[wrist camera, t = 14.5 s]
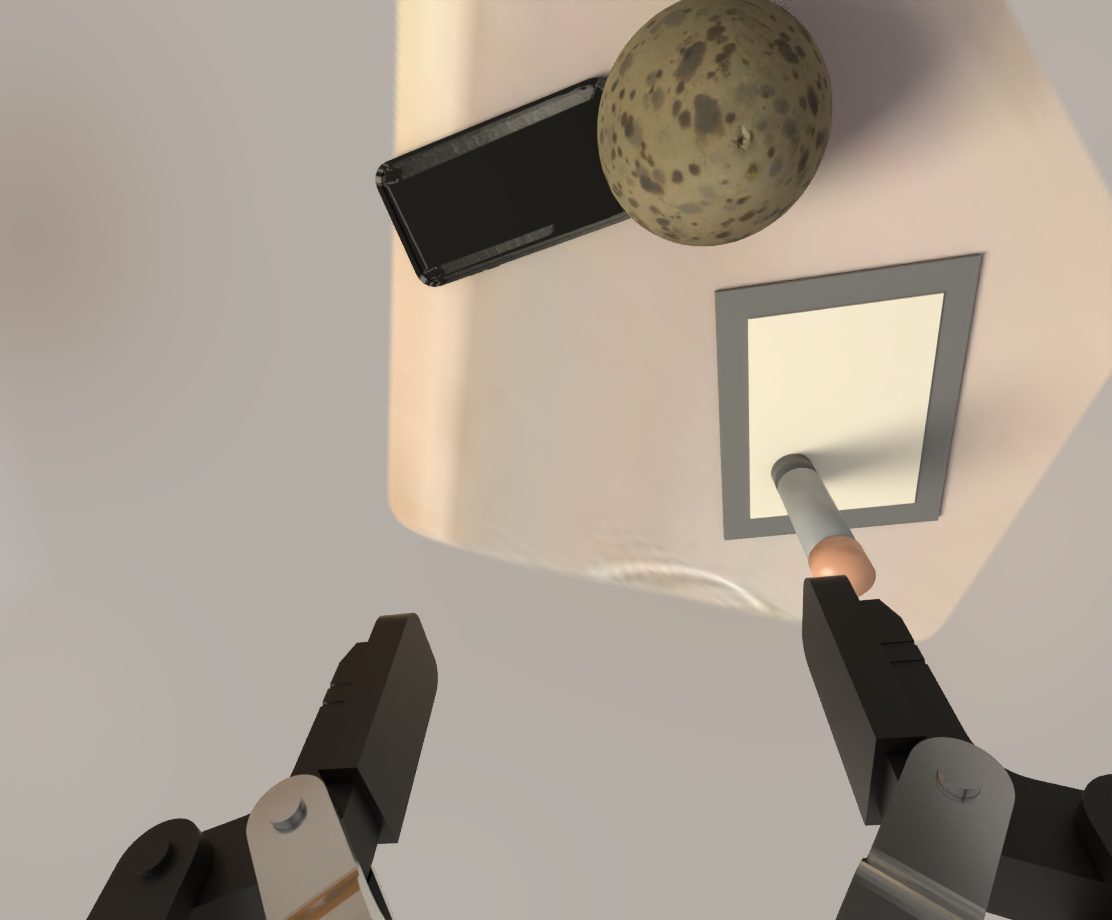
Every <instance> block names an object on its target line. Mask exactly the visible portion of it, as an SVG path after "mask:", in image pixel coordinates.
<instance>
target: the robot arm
mask: <svg viewBox="0 0 1112 920" xmlns="http://www.w3.org/2000/svg"><path fill="white" fill-rule="evenodd" d="M802 639H803V647H804V652H805V656H806V661H807V664H808V667H809V670H810V673H811V675H812V678H813V681H814V684H815V687H816V689H817V692H818V695H819V698H820V701H821V703H822V706H823V709H824V711H825V715H826V717H827V720H828V723H829V726H830V729H831V731H832V734H833V737H834V740H835V743H836V745H837V748H838V751H839V754H840V757H841V759H842V762H843V765H844V768H845V771H846V773H847V776H848V779H849V782H850V784H851V787H852V790H853V793H854V796H855V798H856V801H857V804H858V807H859V810H860V813H861V815H862V818H863V821H864V824H865V825H881V826H880V828H879V831H878V833H877V835H876V838H875V840H874V843H873V845H872V848H871V850H870V852H869V854H868V856H867V858H866V859H865V858H863V859H862V860H861V862H860V864H859V866H858V868H857V870H856V872H855V874H854V876H853V879H852V881H851V884H850V886H849V888H848V891H847V893H846V896H845V898H844V901H843V903H842V905H841V908H840V910H839V913H838V915H837V918H836V920H984V917H985V913H986V912H988V913H992V914H995V915H998V916H1002V917H1005V918H1008V919H1012V920H1112V774H1108V775H1104V776H1099V777H1097V778H1095V779H1093V780H1092V781H1091V782H1090V783H1089V784H1088V785H1087V787H1086V788H1085V790H1079V789H1075V788H1070V787H1066V786H1061V785H1057V784H1052V783H1047V782H1043V781H1039V780H1034V779H1031V778H1027V777H1024V776H1021V775H1018V774H1016V773H1013V772H1011V771H1009V770H1007V769H1005V768H1003V766H1002V765H1001V764H1000V763H999V762H998V761H997V760H996V759H995V758H993V757H992V756H991V755H990V754H988V753H987V752H985V751H984V750H982V749H981V748H979V747H977V746H975V745H974V744H973V743H972V741H971V740H970V739H969V737H968V736H967V734H966V733H965V731H964V729H963V727H962V725H961V724H960V722H959V720H958V718H957V716H956V715H955V713H954V711H953V709H952V707H951V706H950V704H949V702H948V700H947V699H946V697H945V695H944V693H943V691H942V690H941V688H940V686H939V684H938V682H937V681H936V679H935V677H934V675H933V674H932V672H931V670H930V668H929V666H928V665H927V664H925V659H924V657H923V656H922V654H921V652H920V650H919V648H918V647H917V645H915V644H914V639H913V638H912V636H911V634H910V632H909V631H908V629H907V627H906V625H905V623H904V622H903V620H902V618H901V617H900V616H899V615H897V614H896V613H895V612H894V611H893V610H891V609H890V608H889V607H888V606H887V605H885V604H884V603H883V602H882V601H881V600H880V599H873V600H862V601H859V599H858V597H857V595H856V593H855V591H854V589H853V587H852V585H851V582H850V581H849V579H848V577H847V576H846V575H834V576H824V577H813V578H805V580H804V587H803V619H802ZM437 684H438V672H437V665H436V661H435V658H434V656H433V653H432V650H431V648H430V645H429V642H428V640H427V638H426V635H425V632H424V629H423V627H422V625H421V622H420V619H419V617H418V616H417V614H415V613H407V614H397V615H385V616H380V617H379V618H378V619H377V621H376V623H375V625H374V628H373V630H372V633H371V635H370V638H369V640H368V642H361V643H356V644H355V646H354V647H353V648H352V649H351V650H350V651H349V652H348V654H347V655H346V656H345V657H344V659H342V660H341V662H340V663H339V665H338V667H337V670H336V672H335V674H334V677H333V679H332V681H331V684H330V689H328V691H327V693H326V695H325V698H324V700H323V706H322V707H320V709H319V712H318V714H317V716H316V718H315V721H314V723H313V725H312V728H311V730H310V732H309V735H308V737H307V739H306V742H305V744H304V746H303V749H302V751H301V753H300V756H299V758H298V760H297V762H296V765H295V767H294V769H293V772H292V774H291V776H290V777H289V778H287V779H285V780H283V781H281V782H279V783H278V784H276V785H275V786H273V787H272V788H271V789H270V790H268V791H267V792H266V793H265V794H264V795H263V796H262V797H261V798H260V800H259V801H258V802H257V804H256V805H255V807H254V808H253V810H252V812H251V813H250V814H248V815H246V816H243V817H241V818H238V819H236V820H233V821H230V822H227V823H225V824H222V825H219V826H217V827H214V828H211V829H209V830H206V831H203V832H201V831H200V830H199V829H198V828H197V826H196V825H195V824H194V823H193V822H192V821H190V820H188V819H172V820H168V821H166V822H162V823H160V824H158V825H156V826H154V827H153V828H151V829H149V830H148V831H147V832H145V833H144V834H143V835H141V836H140V837H139V838H138V839H137V840H136V841H134V842H133V844H132V845H131V846H130V847H129V848H128V849H127V850H126V852H125V853H124V854H123V855H122V857H121V858H120V860H119V862H118V863H117V865H116V867H115V869H114V871H113V872H112V874H111V876H110V878H109V880H108V881H107V883H106V885H105V887H104V889H103V890H102V893H101V894H100V896H99V898H98V900H97V902H96V903H95V905H94V907H93V909H92V910H91V912H90V914H89V916H88V918H87V919H86V920H395V918H394V916H393V913H392V911H391V908H390V906H389V903H388V901H387V899H386V896H385V893H384V891H383V889H382V886H381V884H380V881H379V879H378V876H377V874H376V872H375V869H374V867H373V866H372V861H373V858H374V854H375V851H376V847H377V844H386V843H398V840H399V836H400V832H401V828H402V824H403V820H404V817H405V813H406V809H407V805H408V801H409V797H410V793H411V789H412V785H413V781H414V777H415V773H416V770H417V766H418V762H419V758H420V754H421V750H422V746H423V742H424V738H425V734H426V730H427V727H428V723H429V719H430V715H431V711H432V707H433V703H434V699H435V695H436V691H437Z"/></svg>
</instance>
